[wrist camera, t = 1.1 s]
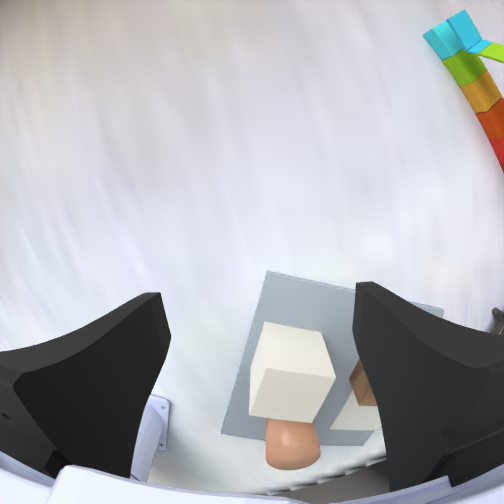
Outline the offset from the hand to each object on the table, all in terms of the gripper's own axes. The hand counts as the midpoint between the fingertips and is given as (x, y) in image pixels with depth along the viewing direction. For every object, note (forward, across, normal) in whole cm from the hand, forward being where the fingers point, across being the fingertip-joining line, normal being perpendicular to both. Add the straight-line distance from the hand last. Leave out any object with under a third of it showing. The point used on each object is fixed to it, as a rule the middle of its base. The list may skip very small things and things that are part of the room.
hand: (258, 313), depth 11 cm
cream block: (+10, -1, +10) cm, 14 cm away
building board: (+10, -5, +14) cm, 18 cm away
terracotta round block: (+9, -1, +17) cm, 19 cm away
